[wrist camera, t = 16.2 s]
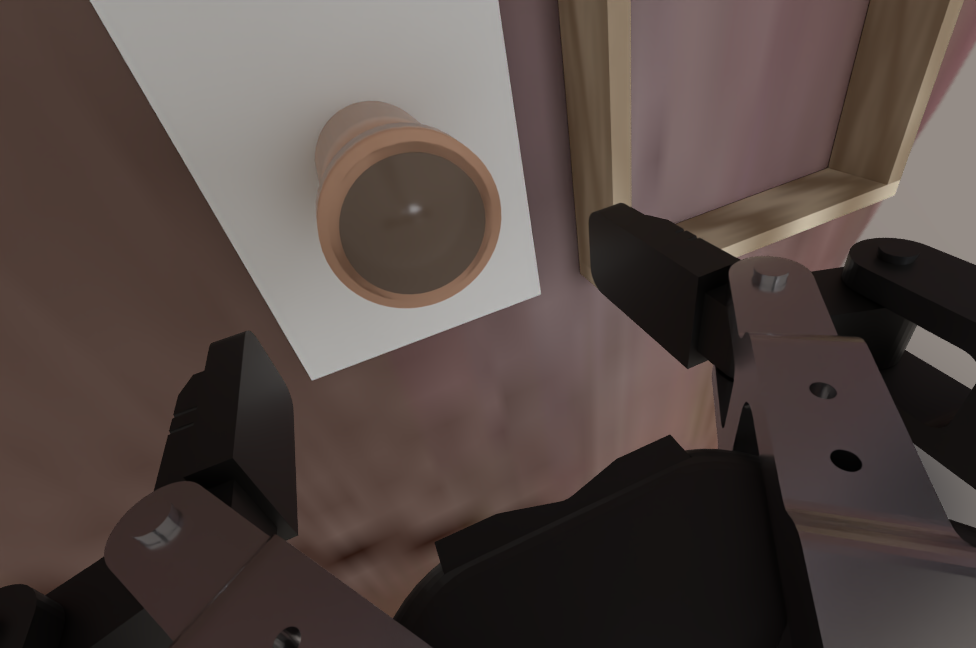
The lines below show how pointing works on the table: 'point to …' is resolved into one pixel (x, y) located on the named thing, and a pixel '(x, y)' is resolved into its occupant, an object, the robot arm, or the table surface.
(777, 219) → the frame
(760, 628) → the robot arm
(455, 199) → the terracotta pot
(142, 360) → the table surface
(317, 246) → the grey mat
